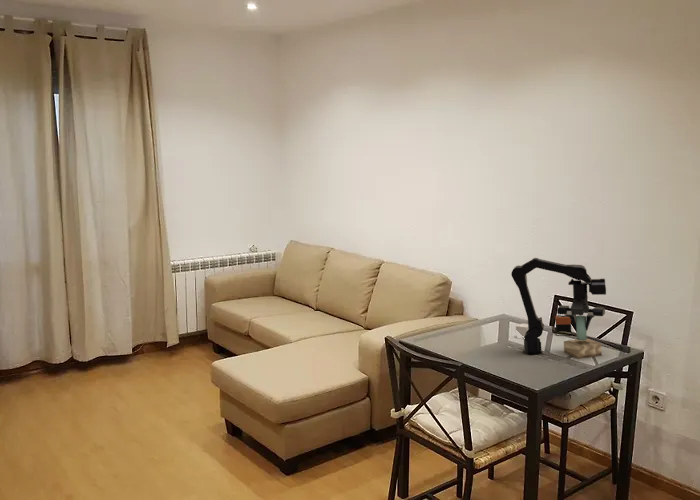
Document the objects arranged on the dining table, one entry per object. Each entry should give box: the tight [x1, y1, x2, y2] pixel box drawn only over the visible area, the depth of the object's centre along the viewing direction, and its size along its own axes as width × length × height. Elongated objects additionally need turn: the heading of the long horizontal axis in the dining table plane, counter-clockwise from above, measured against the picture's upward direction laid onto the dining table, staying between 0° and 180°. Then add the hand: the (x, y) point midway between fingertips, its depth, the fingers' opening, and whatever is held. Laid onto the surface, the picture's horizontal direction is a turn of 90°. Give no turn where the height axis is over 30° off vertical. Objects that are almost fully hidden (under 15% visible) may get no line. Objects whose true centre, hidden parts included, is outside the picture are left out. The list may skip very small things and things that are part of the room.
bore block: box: [563, 338, 603, 360], centre depth 265 cm, size 11×11×5 cm
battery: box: [555, 313, 572, 333], centre depth 297 cm, size 4×7×10 cm, turn 76°
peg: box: [576, 315, 588, 340], centre depth 264 cm, size 4×4×10 cm
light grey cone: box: [515, 323, 529, 336], centre depth 299 cm, size 6×6×6 cm
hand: (581, 330), depth 264 cm, fingers closed on peg, 4 cm apart
